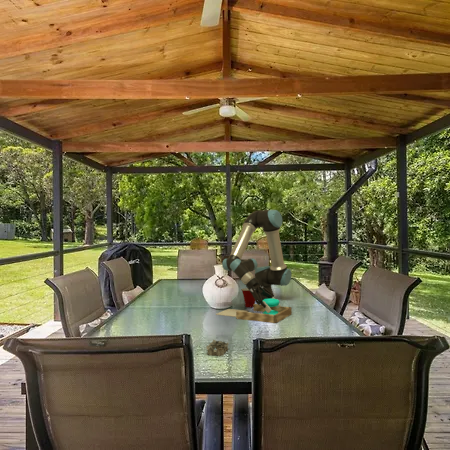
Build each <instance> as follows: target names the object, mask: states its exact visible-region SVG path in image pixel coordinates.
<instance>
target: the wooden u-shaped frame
mask: <svg viewBox="0 0 450 450" xmlns="http://www.w3.org/2000/svg"><path fill="white" fill-rule="evenodd" d="M252 308H253V312H241V311H237V312H236V317H235V318H236V319H237V320H244V321H253V322H262V323H269V324H277V323H279V322H281V321H282V320H284V319H286V318H287V317H290V316H291V315H292V313H293V310H292V307H291V306H280V307H279V308H276V306H275V307H270V308H271V310H276V311H278V312H279V313H277V314H275V315H270V314H262V313H263V312H264V311H266V310H265V309H264V308H263V307H262V306H261V304H260V305H258V304H257V303H255V304H253V307H252ZM261 312H262V313H261Z"/></svg>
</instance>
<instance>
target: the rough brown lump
mask: <svg viewBox="0 0 450 450" xmlns="http://www.w3.org/2000/svg"><path fill="white" fill-rule="evenodd" d="M228 346H229V342H226V341H221V340H215V339H213V340H212V342H210V343H209V344H208V345H207V346H206V350H207V355H209V356H217V357H221V356H224V355H225V353H226V351H228V350H229V349H228Z"/></svg>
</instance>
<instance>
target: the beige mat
mask: <svg viewBox="0 0 450 450" xmlns="http://www.w3.org/2000/svg"><path fill="white" fill-rule="evenodd" d="M237 311H241V312H249V310H243V309H235V308H233V309H232V308H228V309H225V310H222V311H220V312H216V313H215V315H216V316H225V317H233V318H236V312H237Z"/></svg>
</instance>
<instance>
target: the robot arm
mask: <svg viewBox="0 0 450 450" xmlns="http://www.w3.org/2000/svg"><path fill="white" fill-rule="evenodd" d="M282 225H283V217H282V214H281V212H280V211H279V210H277V209H265V210H263V209H262V210H254V211H253V212H251V213H250V214H249V215H248V216H247V217H246V218H245V220H244V221H243V223H242V229H241V231H240V233H239V235H238V236H237V240H236V241H235V244H234V246H233V247H232V250H231V252H230V255H229V257H228V258H227V257H226V258H224V259H223V261H222V263H221V265H222V266H221V267H222V269H223V270H225V271H228V272H231V271H232V272H233V273H234V274H235V275H236V276H237V278H239V280H240V281H241V283H242V284H244V286H245V288H248V289H249V290H250V292H251V293H252V295H253V297H254V299H255V304H258V305H261V306H262V307H263V308H264V309H265V310H266V311H267V313H269V312H270V311H271V308H270V307H269V306H268V305H267V304H266V303H265V301H263V300H264V299H270V298H271V299H276V298H275V295H274V292H273V288H272V285H273V286H281V287H282V286H283V287H284V286H285V287H286V286H288V285H289V284H290V282H291V280H292V270H291V268H288V266H287V264H286V263H285V261H284V255H283V249H282V243H281V240H280V239H281V238H280V233H279V232H280V229H281V226H282ZM258 228H262V231H263V232H264V233H265V237H266V242H267V247H268V253H269V257H270V258H269V259H270V262H271V263H270V264H271V265H266V266H265V265H264V266H263V265H262V266H258V262H257V260H256V259H255V258H247V259H244V258H243V256H244V254H245V251H246V249H247V248H248V244H249V242H250V240H251V237H252V236H253V234H254V232H256V230H257V229H258ZM242 258H243V259H242ZM253 271H254V274H253V273H252V272H253ZM280 306H281V304H280V303H279V305H278V306H276V308H279V307H280Z"/></svg>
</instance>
